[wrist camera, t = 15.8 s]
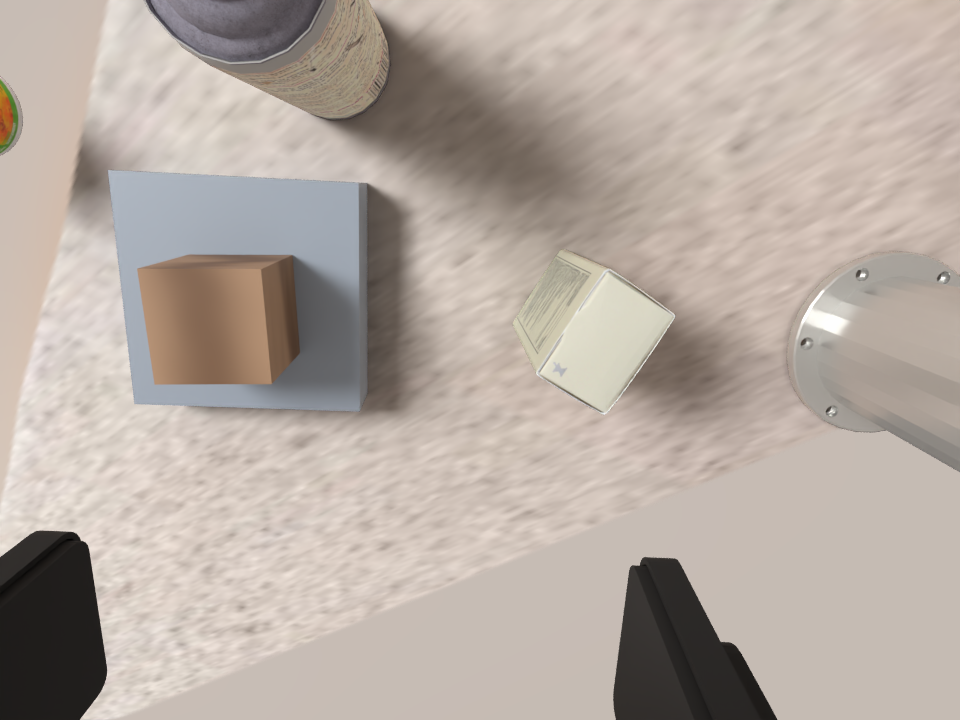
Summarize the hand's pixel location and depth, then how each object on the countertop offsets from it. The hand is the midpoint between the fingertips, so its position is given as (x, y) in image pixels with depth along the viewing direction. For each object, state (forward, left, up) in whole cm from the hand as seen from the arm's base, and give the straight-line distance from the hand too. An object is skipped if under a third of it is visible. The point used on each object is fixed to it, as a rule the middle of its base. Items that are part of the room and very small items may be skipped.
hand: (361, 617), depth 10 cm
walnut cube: (+11, 0, -28) cm, 30 cm away
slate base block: (+11, 0, -32) cm, 34 cm away
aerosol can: (+6, -14, -31) cm, 35 cm away
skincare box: (-9, 0, -31) cm, 32 cm away
